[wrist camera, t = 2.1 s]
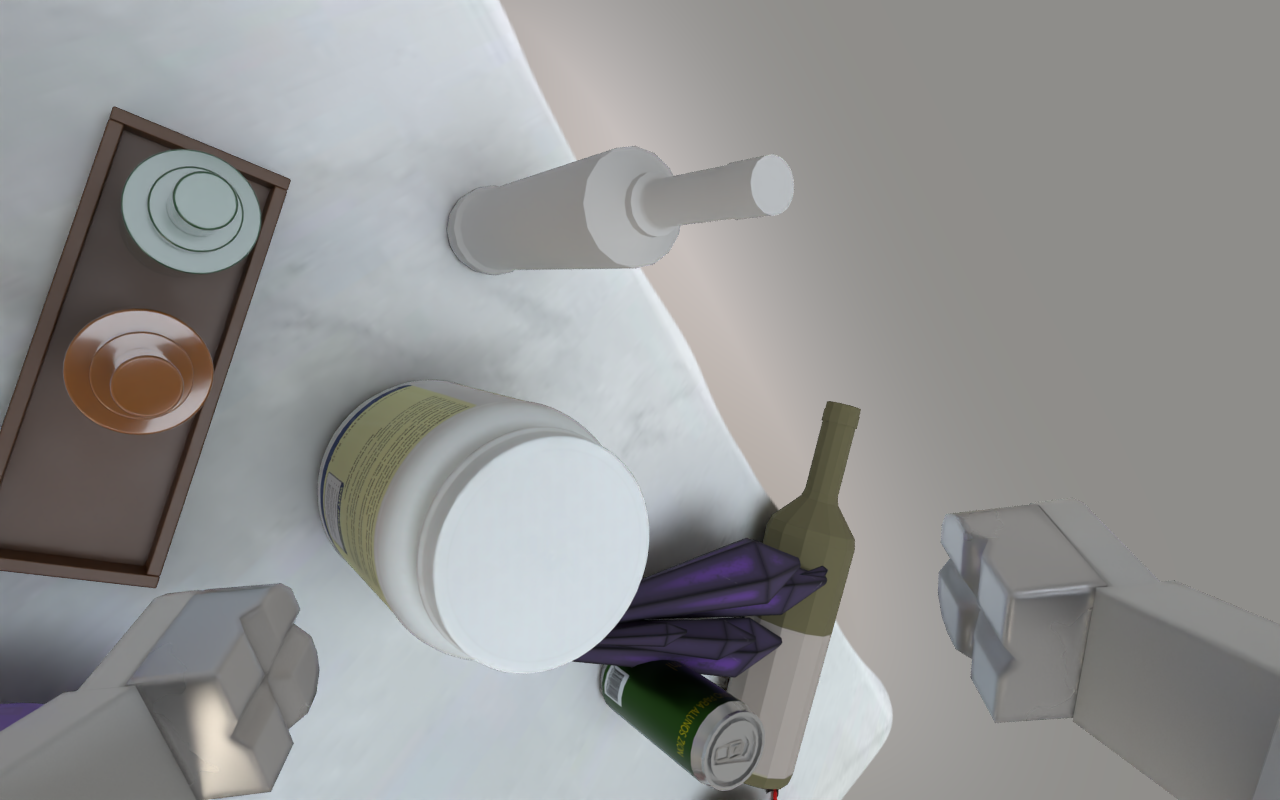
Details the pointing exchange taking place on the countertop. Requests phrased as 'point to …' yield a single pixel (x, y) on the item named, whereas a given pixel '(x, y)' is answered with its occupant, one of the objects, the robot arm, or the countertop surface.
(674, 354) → the countertop surface
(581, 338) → the countertop surface
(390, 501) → the supplement tub
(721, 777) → the beer can
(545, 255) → the bottle
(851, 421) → the bottle
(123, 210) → the green bottle
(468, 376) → the countertop surface
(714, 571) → the crystal
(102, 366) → the amber bottle
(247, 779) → the robot arm
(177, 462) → the tray
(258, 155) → the countertop surface
